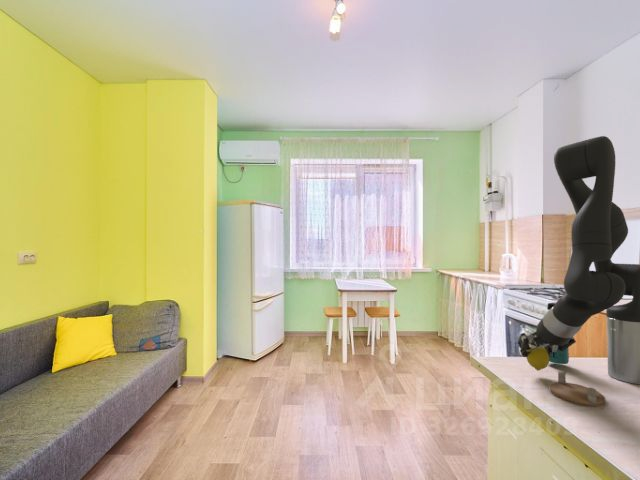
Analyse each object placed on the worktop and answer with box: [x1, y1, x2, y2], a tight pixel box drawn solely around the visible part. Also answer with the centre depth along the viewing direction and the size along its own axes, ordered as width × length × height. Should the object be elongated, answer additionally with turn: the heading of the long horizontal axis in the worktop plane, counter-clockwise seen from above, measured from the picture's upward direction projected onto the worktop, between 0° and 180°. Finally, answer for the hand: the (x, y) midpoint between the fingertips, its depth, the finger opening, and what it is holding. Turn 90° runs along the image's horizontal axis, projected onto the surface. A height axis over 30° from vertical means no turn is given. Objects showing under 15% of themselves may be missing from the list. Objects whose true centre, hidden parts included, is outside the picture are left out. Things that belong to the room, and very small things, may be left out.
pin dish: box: [549, 370, 606, 407], centre depth 80 cm, size 11×11×4 cm
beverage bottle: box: [543, 302, 570, 365], centre depth 100 cm, size 6×7×20 cm
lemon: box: [526, 344, 550, 371], centre depth 92 cm, size 6×6×8 cm
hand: (533, 354), depth 94 cm, fingers closed on lemon, 5 cm apart
